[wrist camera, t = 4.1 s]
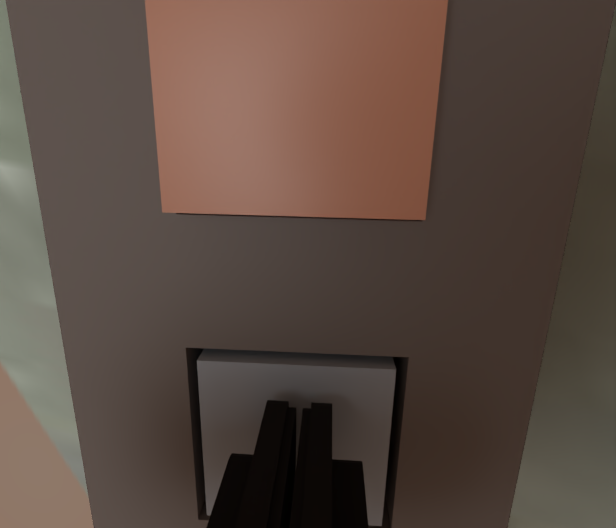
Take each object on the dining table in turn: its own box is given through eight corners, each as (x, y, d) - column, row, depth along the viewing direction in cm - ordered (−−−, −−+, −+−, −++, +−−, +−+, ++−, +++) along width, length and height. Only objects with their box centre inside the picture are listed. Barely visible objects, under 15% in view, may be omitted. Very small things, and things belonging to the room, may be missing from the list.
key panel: (71, -482, 10) (-175, -1073, 5) (588, -506, 9) (862, -1193, 4) (161, 432, 17) (96, 544, 12) (450, 448, 17) (498, 570, 12)
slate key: (232, 301, 14) (196, 360, 10) (378, 307, 14) (396, 369, 10) (236, 423, 16) (206, 515, 12) (368, 430, 15) (381, 526, 12)
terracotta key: (208, -13, 10) (136, -104, 6) (410, -12, 10) (458, -106, 6) (217, 189, 12) (162, 212, 8) (393, 194, 12) (425, 220, 8)
